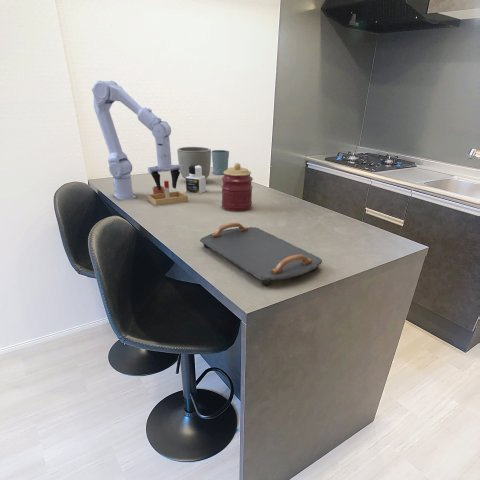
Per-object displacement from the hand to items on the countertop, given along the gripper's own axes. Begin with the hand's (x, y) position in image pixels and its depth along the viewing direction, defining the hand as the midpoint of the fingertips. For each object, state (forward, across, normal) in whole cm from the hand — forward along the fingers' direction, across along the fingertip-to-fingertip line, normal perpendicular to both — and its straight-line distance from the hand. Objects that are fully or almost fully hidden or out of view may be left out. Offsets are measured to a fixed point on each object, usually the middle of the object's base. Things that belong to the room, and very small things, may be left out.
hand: (166, 188), depth 154 cm
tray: (+5, 0, 0) cm, 5 cm away
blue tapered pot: (+6, +50, +41) cm, 65 cm away
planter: (+6, +28, +28) cm, 40 cm away
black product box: (+6, +18, +9) cm, 21 cm away
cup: (+5, 0, +9) cm, 10 cm away
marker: (+5, 0, 0) cm, 5 cm away
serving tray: (+6, 0, -70) cm, 71 cm away
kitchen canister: (+6, +22, -22) cm, 32 cm away
